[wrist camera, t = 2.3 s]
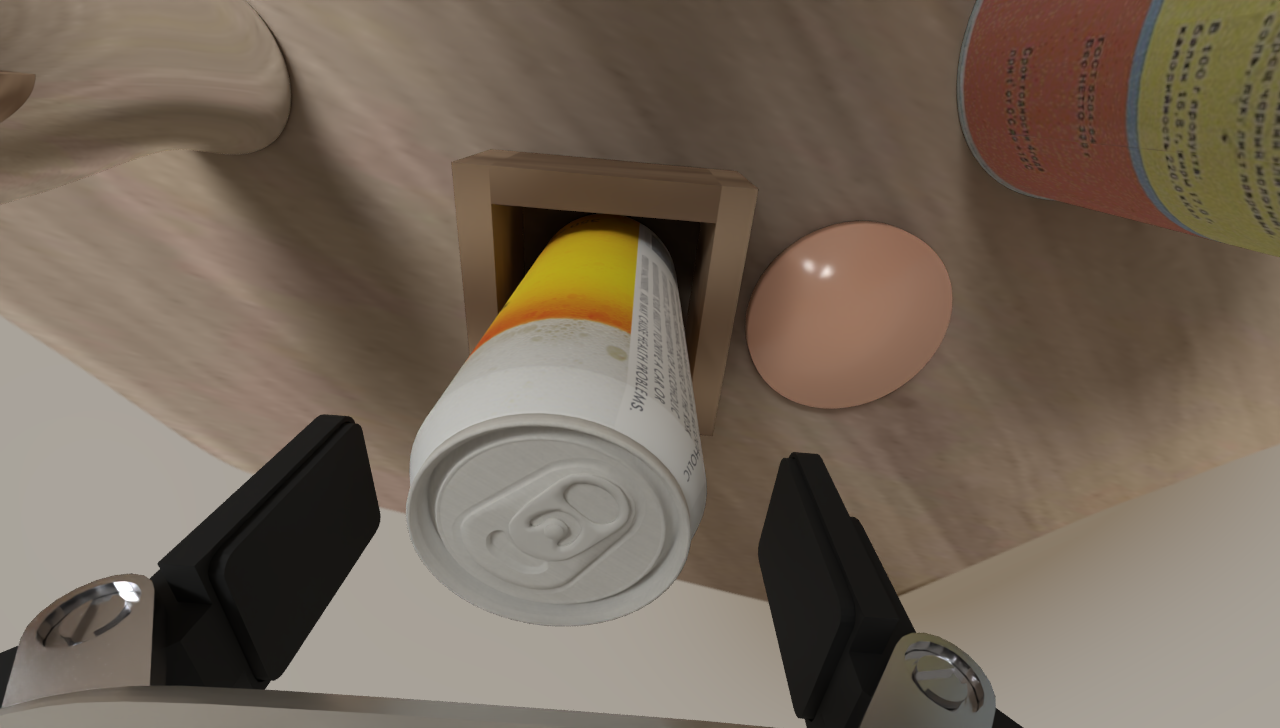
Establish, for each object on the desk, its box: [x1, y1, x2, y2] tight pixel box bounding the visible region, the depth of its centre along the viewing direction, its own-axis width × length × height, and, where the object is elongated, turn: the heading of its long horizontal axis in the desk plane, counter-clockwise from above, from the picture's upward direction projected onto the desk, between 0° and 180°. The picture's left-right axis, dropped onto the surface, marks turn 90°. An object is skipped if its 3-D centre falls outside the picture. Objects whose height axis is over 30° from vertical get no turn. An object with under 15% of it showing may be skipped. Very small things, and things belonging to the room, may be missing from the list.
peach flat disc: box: [745, 221, 953, 409], centre depth 23 cm, size 9×9×1 cm
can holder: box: [451, 149, 759, 436], centre depth 20 cm, size 10×10×4 cm
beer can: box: [406, 214, 707, 626], centre depth 16 cm, size 6×6×15 cm
